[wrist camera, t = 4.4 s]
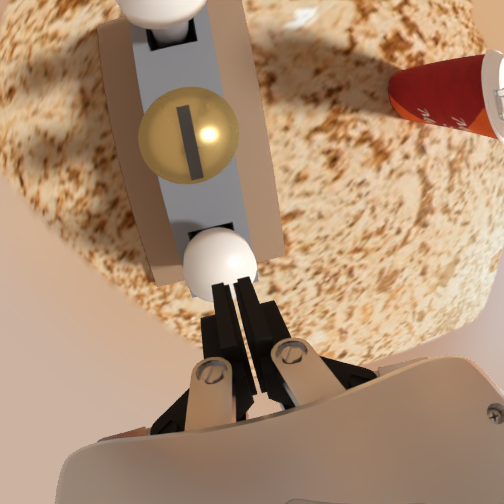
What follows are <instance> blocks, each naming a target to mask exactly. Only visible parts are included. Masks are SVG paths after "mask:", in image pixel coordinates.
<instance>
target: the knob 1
mask: <svg viewBox="0 0 504 504" xmlns="http://www.w3.org/2000/svg"><path fill="white" fill-rule="evenodd" d="M116 1H117V3H118V5H119V6H120V8H121V10H122V12H123V14H124V15H125V17H126V18H127V19H128V20H129V21H130V22H131V23H132V24H134V25H136V26H139V27H141V28H145V29H151V30H152V33H153V35H154V38H155V41H156V43H157V45H158V47H159V48H160V49H163V48H167V47H172V46H176V45H181V44H186V43H187V41H188V21H189V20H190V19H192V18H193V17H194V16H196V15H197V14H198V13H199V12H200V11H201V10H202V9H203V7H204V6H205V4H206V2H207V0H116Z"/></svg>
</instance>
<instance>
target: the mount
mask: <svg viewBox="0 0 504 504" xmlns="http://www.w3.org/2000/svg"><path fill="white" fill-rule="evenodd" d="M97 34H98V44H99V53H100V62H101V69H102V76H103V83H104V89H105V95H106V101H107V107H108V112H109V118H110V123H111V128H112V132H113V137H114V142H115V146H116V151H117V155H118V159H119V163H120V167H121V171H122V175H123V179H124V183H125V187H126V191H127V194H128V198H129V201H130V205H131V208H132V212H133V215H134V219H135V222H136V225H137V228H138V232H139V235H140V238H141V241H142V244H143V247H144V250H145V253H146V256H147V259H148V262H149V265H150V268H151V271H152V273H153V276H154V279H155V282H156V285H157V287H158V286H163V285H167V284H171V283H175V282H179V281H184V280H185V279H184V274H183V262H184V253H185V250H186V247H187V245H188V243H189V242H190V241H191V240H192V239H193V237H195V236H196V235H197V230H201V229H205V228H209V227H213V226H217V225H222V224H224V225H225V227H226V228H228V229H231V230H233V231H235V232H237V233H239V234H240V235H241V236H242V237H243V238H244V239H245V240H246V241H247V243H248V245H249V247H250V249H251V251H252V252H253V254H254V257H255V260H256V263H257V262H261V261H265V260H269V259H273V258H277V257H281V256H285V255H286V254H285V247H284V239H283V232H282V225H281V218H280V211H279V204H278V197H277V191H276V184H275V177H274V171H273V165H272V159H271V152H270V146H269V140H268V134H267V128H266V123H265V117H264V111H263V106H262V100H261V95H260V89H259V84H258V78H257V73H256V68H255V63H254V58H253V53H252V48H251V43H250V38H249V33H248V28H247V23H246V19H245V14H244V9H243V5H242V0H207V2H206V4H205V6H204V7H203V9H202V10H201V11H200V12H199V13H198V14H197V15H196V16H194V17H193V18H192V19H190V20H189V21H188V41H187V43H186V44H181V45H176V46H172V47H167V48H163V49H160V48H159V47H158V45H157V43H156V41H155V38H154V35H153V33H152V30H151V29H145V28H141V27H139V26H136V25H134V24H132V23H131V22H130V21H129V20H128V19H127V18H126V17H122V18H118V19H115V20H112V21H110V22H107V23H104V24H101V25H98V26H97ZM181 87H201V88H205V89H208V90H211V91H213V92H215V93H217V94H218V95H220V96H221V97H222V98H223V99H224V100H226V101H227V102H228V104H229V105H230V106H231V108H232V109H233V111H234V113H235V115H236V118H237V121H238V125H239V141H238V146H237V149H236V152H235V154H234V156H233V158H232V160H231V161H230V163H229V164H228V165H227V166H226V167H225V168H224V169H223V170H222V171H221V172H220V173H219V174H218V175H216V176H214V177H213V178H211V179H209V180H207V181H204V182H201V183H197V184H188V185H184V184H176V183H172V182H169V181H167V180H165V179H163V178H161V177H159V176H158V175H156V174H155V173H154V172H153V171H152V170H151V169H150V168H149V167H148V166H147V164H146V163H145V161H144V159H143V157H142V155H141V152H140V148H139V142H138V134H139V127H140V123H141V121H142V118H143V116H144V114H145V112H146V111H147V109H148V108H149V107H150V105H151V104H152V103H153V102H154V101H155V100H156V99H158V98H159V97H160V96H162V95H163V94H165V93H167V92H169V91H171V90H174V89H177V88H181ZM254 282H258V276H257V271H256V276H255V279H254V281H253V283H254ZM190 292H191V295H192V298H193V297H197V296H196V295H195V294H194V293H193V292H192V291H191V290H190Z"/></svg>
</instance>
